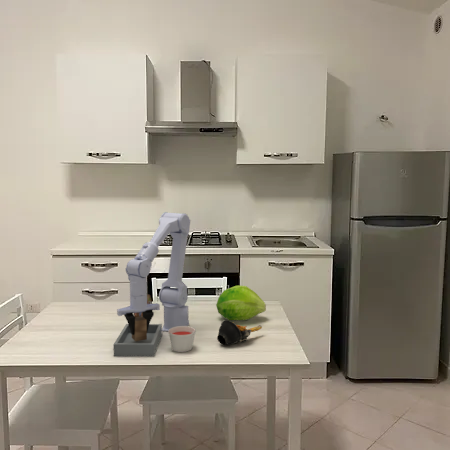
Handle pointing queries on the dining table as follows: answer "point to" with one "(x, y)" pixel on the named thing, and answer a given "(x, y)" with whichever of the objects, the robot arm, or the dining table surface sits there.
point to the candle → (181, 338)
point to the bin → (138, 342)
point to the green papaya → (240, 303)
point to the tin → (149, 301)
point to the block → (140, 329)
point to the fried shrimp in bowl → (234, 333)
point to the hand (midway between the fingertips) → (139, 332)
